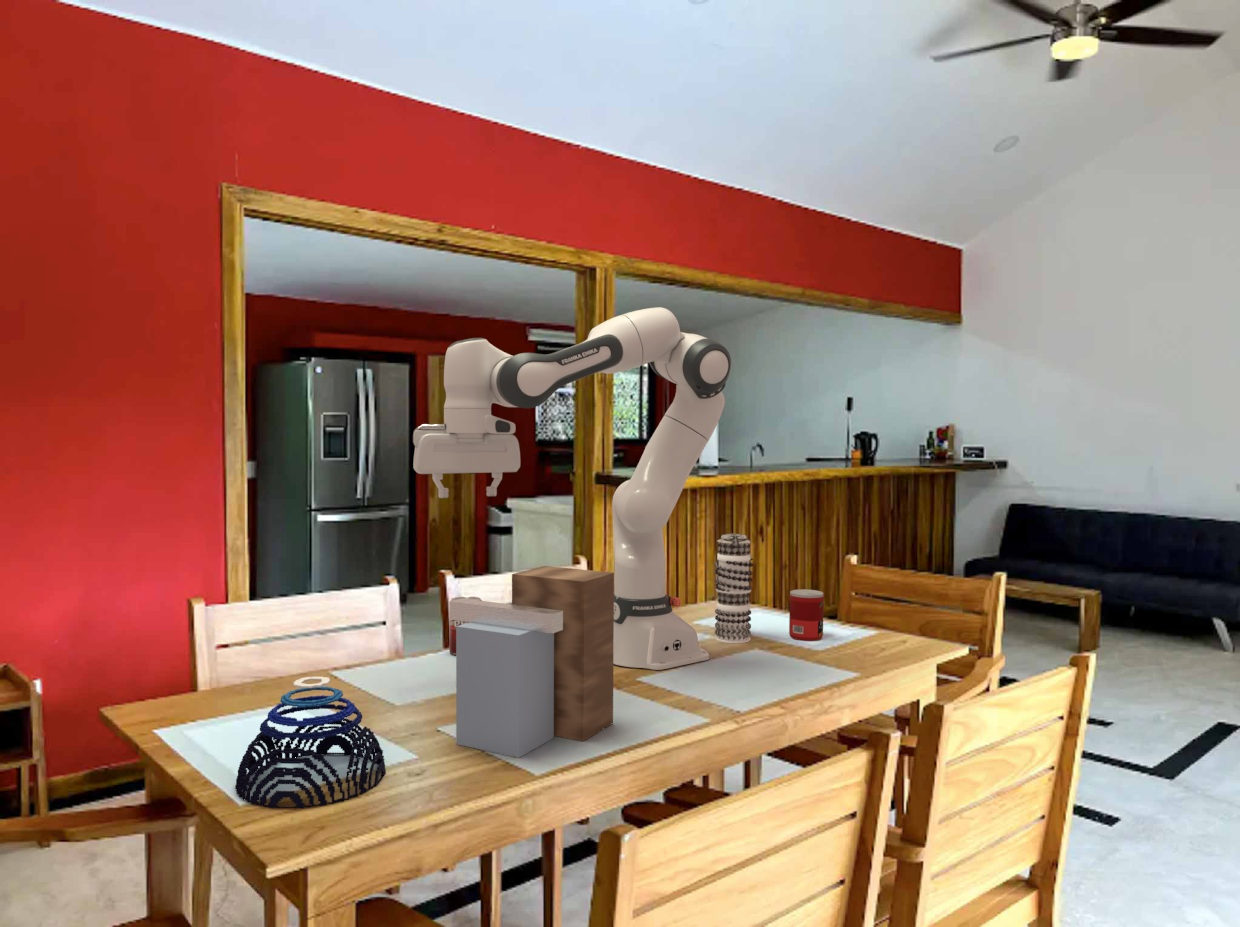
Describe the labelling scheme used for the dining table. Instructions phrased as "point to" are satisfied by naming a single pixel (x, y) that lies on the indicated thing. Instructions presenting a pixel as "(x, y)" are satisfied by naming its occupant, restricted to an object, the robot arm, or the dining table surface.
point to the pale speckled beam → (506, 615)
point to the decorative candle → (733, 589)
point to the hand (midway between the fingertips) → (467, 496)
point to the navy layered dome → (322, 748)
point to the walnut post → (576, 643)
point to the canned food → (806, 615)
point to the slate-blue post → (504, 688)
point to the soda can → (453, 626)
